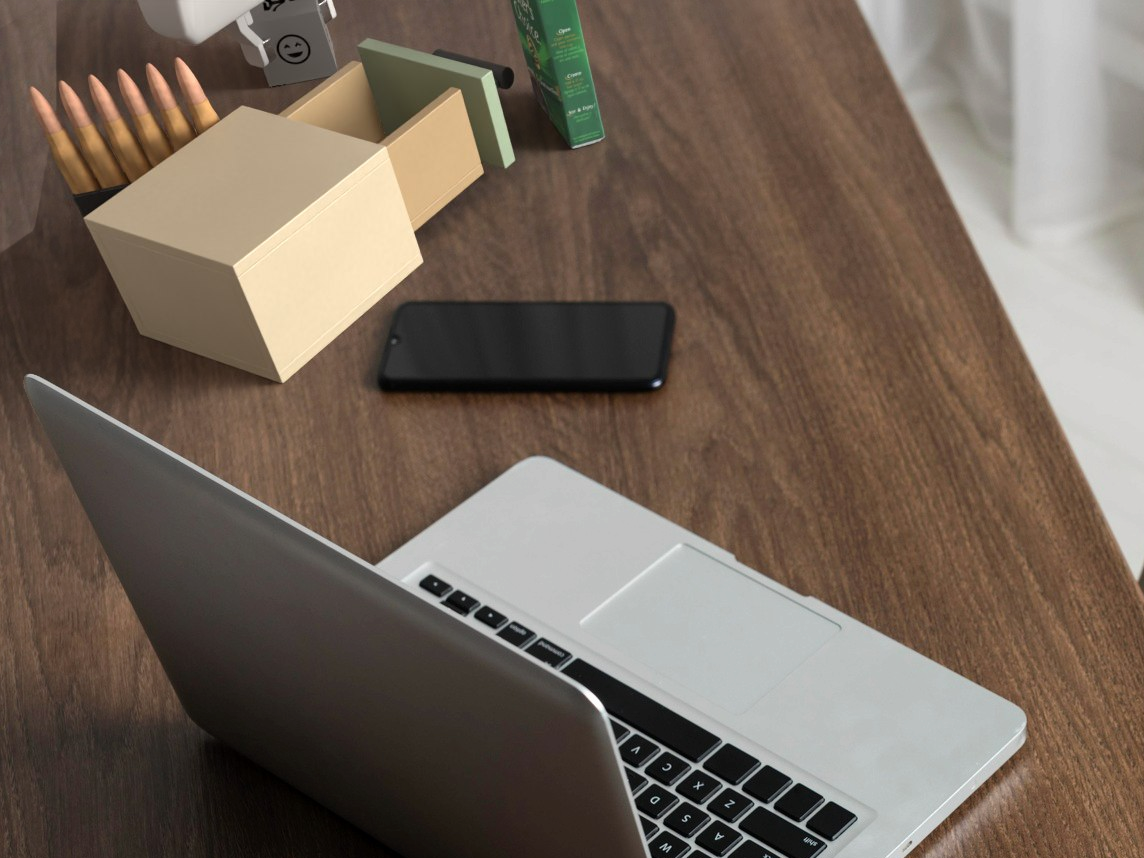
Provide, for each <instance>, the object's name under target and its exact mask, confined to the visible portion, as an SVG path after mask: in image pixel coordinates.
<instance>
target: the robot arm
mask: <svg viewBox="0 0 1144 858" xmlns="http://www.w3.org/2000/svg"><path fill="white" fill-rule="evenodd" d="M136 1H137V4H138V6H139V8H140V11H141V13H142V15H143V17H144V20H145V22H146V24H147V25H148V26H149V28H150V29H151V30H152V31H153V32H155V34H158V35H159V36H161V37H164V38H165V39H168V40H172V41H175V42H178V43H182V44H186V45H189V46H190V45H191V46H198V45H200V44H202V43H204V42H205V41H207V40H208V39H209V38H211V37H213V36H214V35H215V34H216V33H218V32H220V31H222V30H223V31H224V32H225V33H226V34H227V35H228V36H230V38H232V39H233V40H235V41H236V42H237V43H239V45H240V48H241V51H242V54H243V56H244V59H245V60H246V62H247V63H248V64H249V65H251V66H253V67H258V68H260V69H263V67H265V66H266V65H267V64H269V63H271V62H272V61H273V60H274V59H275V58H276V54H275V51H274V48H273V45H272V43H271V40H270V38H268V39H262V40H261V39H260V38H259V37H258V36H257V35H256V34H255V33H254V32H253V31H252V30H251V29H250V28H249V27H248V25H251V24H252V23H253V19H252V17H251V14H250V10H251V9H253V8H254V7H256V6H257V5H259V4H260V3H262V2H263V1H265V0H136ZM318 4H319V7H320V10H321V13H322V16H323V19H324V22H325V24H326V25H327V23H329V22H331V21H332V20H334V19H336V17H337V11H336V8H335V6H334V2H333V0H318Z"/></svg>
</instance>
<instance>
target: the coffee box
mask: <svg viewBox="0 0 1144 858" xmlns="http://www.w3.org/2000/svg"><path fill="white" fill-rule="evenodd" d="M509 1H510V4H511V8H512V13H513V18H514V20H515V25H516V28H517V32H518V36H519V40H520V43H521V48H522V51H523V55H524V59H525V62H526V68H527V71H528V75H529V78H530V82H531V88H532V90H533V93H534V98H535V101H536V102H537V103H538V104H539V106H540V107H541V109H542V111H544V113H545V115H546V116H547V117H548V118H549V120H550V121H551V123H552V125H554V127H555V128H556V130H557V131H558V132H559V133H560V136H561V137H562V138H563V140H565V142H566V143H567V145H568V146H569V148H571V149H578V148H582V147H585V146H589V145H593V144H595V143H598V142H599V143H600V142H601V140H603V139H605V137H606V134H605V129H604V125H603V121H602V116H601V112H600V108H599V102H598V98H597V93H596V89H595V88H596V87H595V83H594V80H593V75H592V71H591V66H590V62H589V57H588V53H587V47H586V44H585V38H584V34H583V30H582V25H581V20H580V15H579V11H578V7H577V2H576V1H577V0H509Z"/></svg>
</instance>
